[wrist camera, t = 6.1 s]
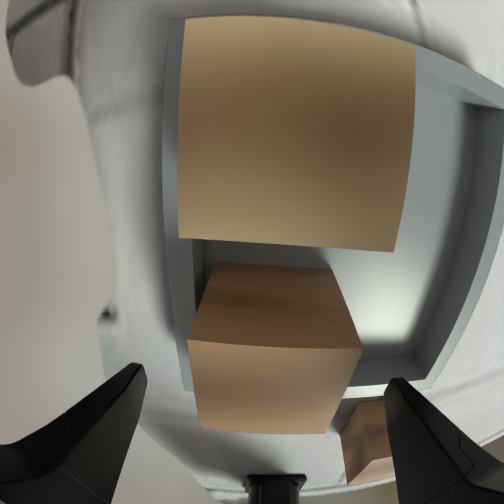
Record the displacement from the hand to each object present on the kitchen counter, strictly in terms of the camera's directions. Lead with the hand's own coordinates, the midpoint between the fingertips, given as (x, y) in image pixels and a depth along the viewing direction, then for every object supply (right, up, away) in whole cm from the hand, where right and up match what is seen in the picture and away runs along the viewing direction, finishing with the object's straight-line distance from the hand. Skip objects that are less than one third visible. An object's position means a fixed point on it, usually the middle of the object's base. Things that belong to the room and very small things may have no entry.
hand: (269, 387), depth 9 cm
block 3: (+9, -8, +9) cm, 15 cm away
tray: (+3, +5, +3) cm, 7 cm away
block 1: (+1, +9, +1) cm, 9 cm away
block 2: (0, +2, +4) cm, 5 cm away
